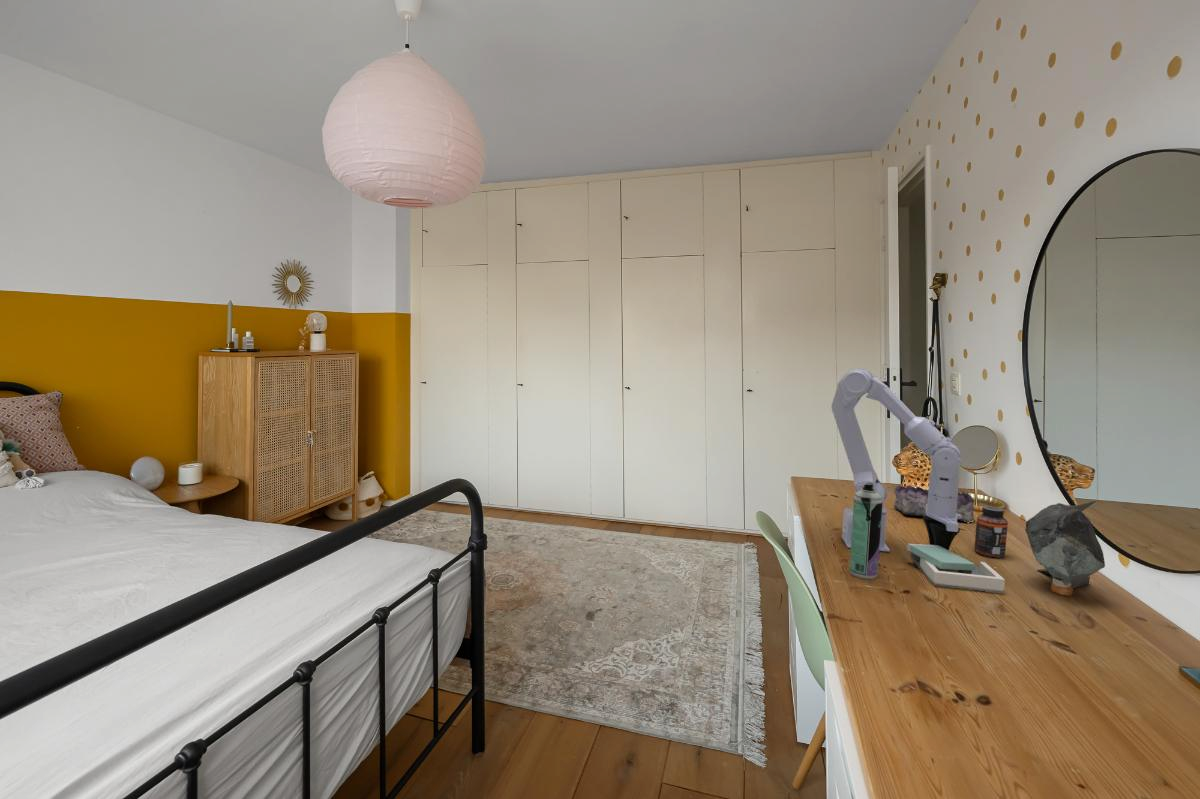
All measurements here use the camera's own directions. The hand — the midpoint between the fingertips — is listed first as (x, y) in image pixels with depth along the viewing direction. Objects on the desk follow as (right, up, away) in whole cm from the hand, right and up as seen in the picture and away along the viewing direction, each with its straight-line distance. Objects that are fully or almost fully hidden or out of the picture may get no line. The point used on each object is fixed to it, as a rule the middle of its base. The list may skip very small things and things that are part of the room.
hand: (938, 551), depth 123 cm
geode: (+19, +1, +32) cm, 37 cm away
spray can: (-22, -2, -9) cm, 24 cm away
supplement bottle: (+14, -2, +3) cm, 15 cm away
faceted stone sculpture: (+16, -3, -15) cm, 22 cm away
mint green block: (-5, -1, -8) cm, 10 cm away
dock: (-2, -3, -9) cm, 10 cm away
